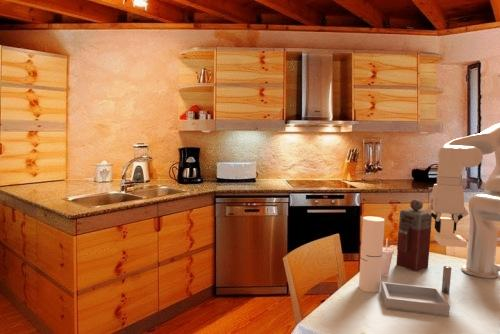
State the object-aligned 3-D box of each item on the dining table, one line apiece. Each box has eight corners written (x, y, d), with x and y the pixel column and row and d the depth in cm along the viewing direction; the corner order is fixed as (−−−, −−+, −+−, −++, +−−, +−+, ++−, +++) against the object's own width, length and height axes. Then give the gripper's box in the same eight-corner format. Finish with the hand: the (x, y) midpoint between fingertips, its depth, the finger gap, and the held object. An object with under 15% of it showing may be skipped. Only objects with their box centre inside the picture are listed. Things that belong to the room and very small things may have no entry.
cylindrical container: (377, 294, 125) (382, 222, 123) (356, 288, 129) (360, 219, 126) (382, 287, 131) (386, 218, 129) (361, 282, 135) (366, 215, 133)
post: (448, 291, 129) (450, 266, 128) (450, 294, 127) (452, 269, 126) (440, 290, 130) (442, 265, 129) (442, 293, 127) (444, 268, 126)
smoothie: (393, 277, 140) (395, 241, 139) (375, 275, 141) (378, 240, 140) (390, 271, 146) (392, 236, 145) (373, 269, 148) (375, 235, 146)
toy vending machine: (392, 265, 152) (397, 199, 150) (408, 260, 159) (412, 196, 156) (412, 273, 145) (417, 203, 142) (428, 267, 152) (433, 200, 149)
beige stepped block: (454, 236, 134) (456, 218, 133) (466, 247, 122) (468, 226, 121) (430, 235, 136) (432, 216, 135) (440, 245, 123) (442, 225, 123)
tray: (437, 297, 124) (438, 287, 123) (449, 316, 111) (449, 305, 111) (380, 291, 128) (381, 281, 127) (386, 308, 115) (386, 298, 115)
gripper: (471, 181, 132) (466, 231, 134) (420, 179, 136) (417, 227, 138) (479, 184, 125) (474, 236, 127) (425, 181, 129) (422, 233, 131)
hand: (444, 231), depth 132 cm, fingers closed on beige stepped block, 4 cm apart
